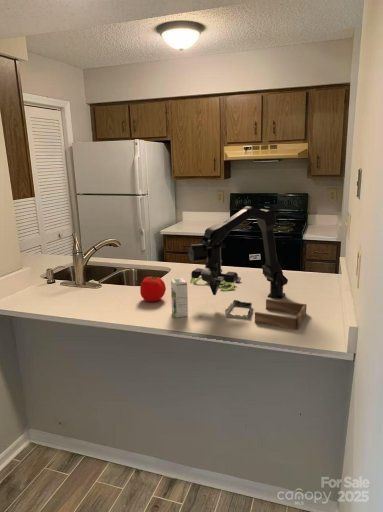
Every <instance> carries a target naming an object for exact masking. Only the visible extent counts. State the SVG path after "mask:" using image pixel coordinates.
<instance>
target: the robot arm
mask: <svg viewBox="0 0 383 512" xmlns="http://www.w3.org/2000/svg"><path fill="white" fill-rule="evenodd" d="M276 216H277V214H276V212H275V211H273V210H269V209H266V208H260V209H258V208H255V207H254V206H249V205H247V206H244V207H243V208H242V209H240V210H239V211H238V212H236V213H235V214H233V215H232V216H230V217H229V218H227V219H226V220H224V221H223V222H221V223H217V224H214V225H212V226H209V227H207V228H206V229H204V234H203V236H202V238H201V239H200V241H199V243H197V244H194V243H193V244H192V243H191V244H190V245H189V249H188V252H187V255H188V260H189V261H190V263H193V262H202V261H206V262H205V266H204V269H203V268H199V267H197V268H196V269H193V270H192V271H191V273H190V274H191V275H190V277H191V278H195V279H197V278H199V277H202V279H201V280H202V281H203V282H206V283H207V284H208V286H209V288H210V290H211V292H212V294H213V295H212V296H216V295H217V293H218V290H219V289H220V287H219V286H221V284H222V281H223V280H224V281H225V282H231V283H232V282H235V281H236V280H237V279H238V277H239V274H238V273H237V272H236V271H227V272H226V273H223V269H222V263H223V260H222V248H226V247H227V246H226V244H225V243H223V242H222V241H223V240H225V238H226V237H227V235H228V234H229V233H230V232H231V231H232V230H233V229H235V228H237V227H238V226H240V225H241V224H243V223H244V222H246V221H247V220H248V219H249V220H250V218H254V219H256V222H257V225H258V227H259V228H260V230H261V235H262V236H261V237H262V243H263V250H264V256H265V263H264V265H261V270H262V274H263V276H264V277H265V278H266V281H267V282H269V283H270V284H269V289H270V290H269V294H268V295H267V297H268V298H276V299H283V298H284V297H285V295H286V293H285V292H284V286H285V285H288V282H289V279H288V278H287V277H286V276H285V275H284V272H283V269H282V266H281V264H280V263H279V260H278V256H277V255H278V254H277V251H276V250H277V249H276V240H275V235H274V234H275V232H274V229H275V226H276V222H277V219H276ZM236 282H237V281H236ZM236 282H235V283H236Z"/></svg>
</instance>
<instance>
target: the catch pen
mask: <svg viewBox="0 0 383 512" xmlns="http://www.w3.org/2000/svg"><path fill="white" fill-rule="evenodd" d="M265 309H266V310H272V311H278V312H285V313H291V314H297V316H296V317H291V316H285V315H279V314H271V313H267V312H265V313H264V312H259V311H255V312H254V323H255V324H261V325H268V326H271V327H278V328H279V327H280V328H283V329H284V328H285V329H290V330H296V331H297V330H299V328H300V327H301V324H302V322H303V320H304V319H305V317H306V315H307V304H306V303H300V302H293V301H284V300H278V299H270V298H266V300H265Z"/></svg>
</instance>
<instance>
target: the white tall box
mask: <svg viewBox="0 0 383 512" xmlns="http://www.w3.org/2000/svg"><path fill="white" fill-rule="evenodd" d="M170 284H171V285H170V287H171V288H170V291H171V295H170V296H171V314H172V315H173V318H183V317H188V316H189V309H188V308H189V307H188V306H189V304H188V303H189V301H188V281H187V280H186V278H182V277H180V278H178V277H177V278H176V277H175V278H172V279H170Z"/></svg>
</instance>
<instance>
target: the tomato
mask: <svg viewBox="0 0 383 512" xmlns="http://www.w3.org/2000/svg"><path fill="white" fill-rule="evenodd" d="M139 288H140V289H139V293H140V296H141V298H142V299H143V300H144V301H146V302H153V303H154V302H157V301H160V300H161V299H162V298H163V297H164V296H165V294H166V290H167V289H166V283H165V282H164V280H163V279H162V278H161V277H157V276H156V277H154V276H147V277H146V276H145V277H144V279H143V280H142V281H141V283H140V287H139Z"/></svg>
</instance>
